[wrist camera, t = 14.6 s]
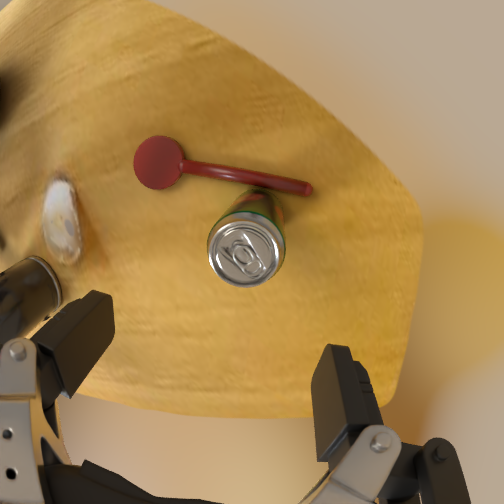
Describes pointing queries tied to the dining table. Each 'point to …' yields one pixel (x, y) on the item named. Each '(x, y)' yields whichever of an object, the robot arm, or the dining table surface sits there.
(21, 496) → the robot arm
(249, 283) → the soda can
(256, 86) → the dining table surface
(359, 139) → the dining table surface
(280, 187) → the spoon
